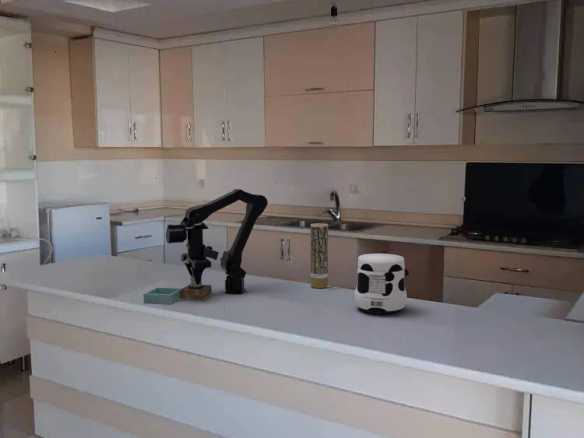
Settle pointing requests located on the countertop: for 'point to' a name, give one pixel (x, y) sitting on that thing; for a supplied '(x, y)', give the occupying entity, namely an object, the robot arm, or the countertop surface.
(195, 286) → the translucent grey cylinder
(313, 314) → the countertop surface
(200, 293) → the block
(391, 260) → the milk container
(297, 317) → the countertop surface
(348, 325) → the countertop surface
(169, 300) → the tray
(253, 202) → the robot arm
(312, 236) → the bark textured cylinder
